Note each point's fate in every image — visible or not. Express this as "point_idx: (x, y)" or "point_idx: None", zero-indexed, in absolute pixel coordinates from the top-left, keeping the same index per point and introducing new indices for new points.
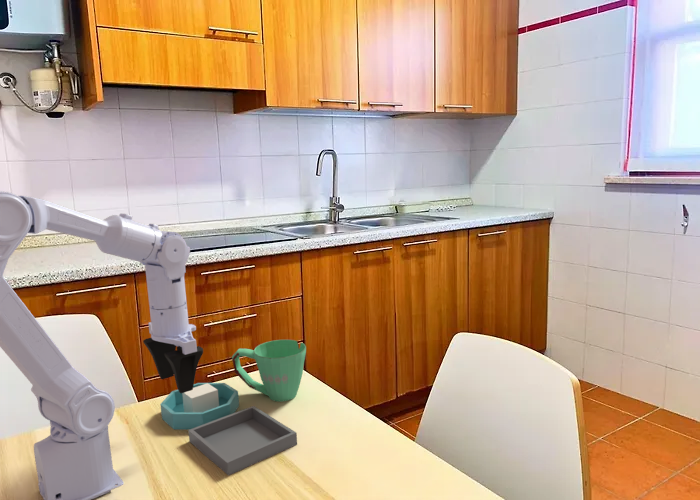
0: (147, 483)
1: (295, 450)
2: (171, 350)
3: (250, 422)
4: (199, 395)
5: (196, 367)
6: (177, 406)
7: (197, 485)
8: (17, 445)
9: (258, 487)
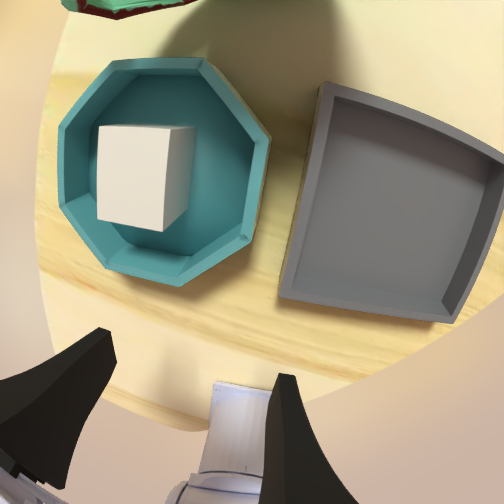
0: (323, 376)
1: None
2: (48, 405)
3: (342, 121)
4: (161, 202)
5: (325, 457)
6: (95, 193)
7: (403, 341)
8: None
9: (489, 290)
